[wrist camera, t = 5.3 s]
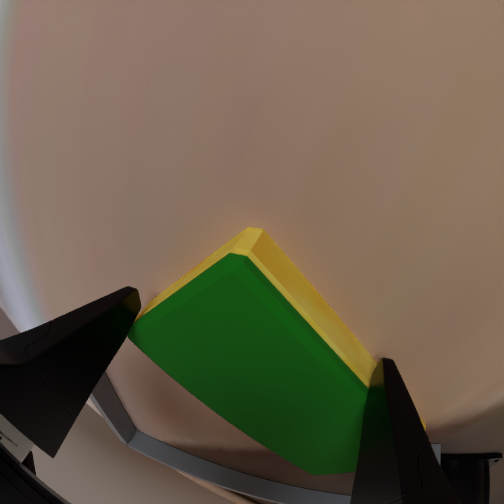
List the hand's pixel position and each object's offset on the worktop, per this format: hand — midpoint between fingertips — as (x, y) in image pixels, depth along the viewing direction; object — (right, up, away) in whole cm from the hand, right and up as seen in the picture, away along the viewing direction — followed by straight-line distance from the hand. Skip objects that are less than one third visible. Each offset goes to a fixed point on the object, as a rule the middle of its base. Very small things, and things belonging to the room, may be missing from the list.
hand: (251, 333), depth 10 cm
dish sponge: (+2, -3, +3) cm, 5 cm away
